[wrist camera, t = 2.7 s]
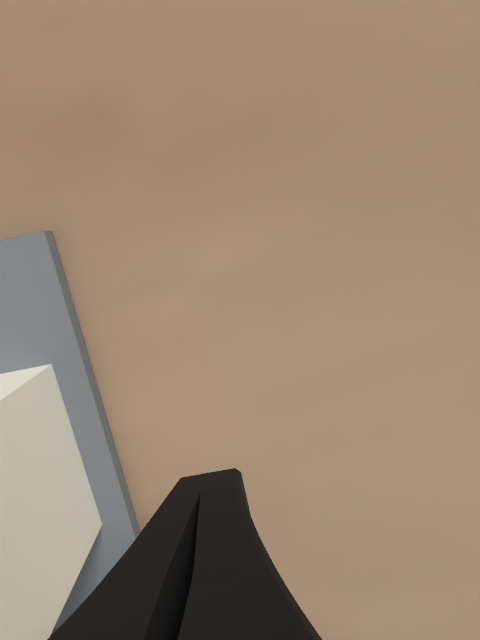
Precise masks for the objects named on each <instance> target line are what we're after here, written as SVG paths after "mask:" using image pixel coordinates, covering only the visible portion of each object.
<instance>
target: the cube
mask: <svg viewBox="0 0 480 640" xmlns="http://www.w3.org/2000/svg"><path fill="white" fill-rule="evenodd" d="M101 526H102V522H101V519H100V516H99V513H98V510H97V506H96V503H95V500H94V497H93V494H92V491H91V487H90V484H89V481H88V478H87V475H86V472H85V468H84V465H83V462H82V459H81V456H80V453H79V449H78V446H77V443H76V440H75V437H74V433H73V430H72V427H71V424H70V421H69V418H68V414H67V411H66V408H65V405H64V402H63V399H62V395H61V392H60V389H59V386H58V383H57V380H56V376H55V373H54V370H53V367H52V364H49V365H44V366H39V367H34V368H29V369H23V370H18V371H13V372H8V373H3V374H0V640H47V639H48V638H49V637H50V635H51V633H52V631H53V629H54V626H55V624H56V622H57V620H58V618H59V616H60V614H61V611H62V609H63V607H64V605H65V603H66V601H67V599H68V597H69V594H70V592H71V590H72V588H73V586H74V584H75V582H76V580H77V577H78V575H79V573H80V571H81V569H82V567H83V565H84V562H85V560H86V558H87V556H88V554H89V552H90V550H91V548H92V545H93V543H94V541H95V539H96V537H97V535H98V533H99V531H100V528H101Z"/></svg>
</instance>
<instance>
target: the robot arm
mask: <svg viewBox="0 0 480 640" xmlns="http://www.w3.org/2000/svg"><path fill="white" fill-rule="evenodd" d="M47 640H322V639H321V637H320V636H319V635H318V633H317V632H316V630H315V629H314V627H313V626H312V625H311V623H310V622H309V620H308V619H307V617H306V616H305V614H304V613H303V611H302V610H301V608H300V607H299V605H298V604H297V602H296V601H295V599H294V598H293V596H292V594H291V593H290V591H289V590H288V588H287V586H286V585H285V583H284V581H283V580H282V578H281V576H280V575H279V573H278V571H277V569H276V568H275V566H274V564H273V562H272V560H271V558H270V557H269V555H268V553H267V551H266V549H265V547H264V545H263V543H262V541H261V539H260V537H259V535H258V532H257V530H256V528H255V526H254V523H253V521H252V519H251V515H250V511H249V506H248V502H247V497H246V493H245V488H244V484H243V479H242V475H241V472H240V471H238V470H237V469H235V468H234V469H228V470H222V471H217V472H211V473H205V474H200V475H194V476H188V477H183V478H181V479H180V480H179V481H178V482H177V484H176V485H175V486H174V488H173V489H172V491H171V492H170V493H169V495H168V496H167V497H166V499H165V500H164V502H163V503H162V504H161V506H160V507H159V508H158V510H157V511H156V513H155V514H154V515H153V517H152V518H151V519H150V521H149V522H148V523H147V525H146V526H145V527H144V529H143V530H142V531H141V533H140V534H139V535H138V537H137V538H136V539H135V541H134V542H133V543H132V545H131V546H130V547H129V548H128V550H127V551H126V552H125V553H124V554H123V556H122V557H121V558H120V559H119V560H118V562H117V563H116V564H115V565H114V567H113V568H112V569H111V570H110V571H109V573H108V574H107V575H106V576H105V577H104V579H103V580H102V581H101V582H100V583H99V585H98V586H97V587H96V588H95V589H94V590H93V592H92V593H91V594H90V595H89V596H88V597H87V598H86V599H85V601H84V602H83V603H82V604H81V605H80V606H79V607H78V608H77V609H76V610H75V611H74V612H73V614H72V615H71V616H70V617H69V618H68V619H67V620H66V621H65V622H64V623H63V624H62V625H61V626H60V627H59V628H58V629H57V630H56V631H55V632H54V633H53V634H52V635H51V636H50V637H49V638H48V639H47Z"/></svg>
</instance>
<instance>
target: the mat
mask: <svg viewBox="0 0 480 640" xmlns="http://www.w3.org/2000/svg"><path fill="white" fill-rule="evenodd" d="M49 364H52V367H53V370H54V373H55V376H56V380H57V383H58V386H59V389H60V392H61V395H62V399H63V402H64V405H65V408H66V411H67V414H68V418H69V421H70V424H71V427H72V430H73V433H74V437H75V440H76V443H77V446H78V449H79V453H80V456H81V459H82V462H83V465H84V468H85V472H86V475H87V478H88V481H89V484H90V487H91V491H92V494H93V497H94V500H95V503H96V506H97V510H98V513H99V516H100V519H101V522H102V526H101V528H100V531H99V533H98V535H97V537H96V539H95V541H94V543H93V545H92V548H91V550H90V552H89V554H88V556H87V558H86V560H85V562H84V565H83V567H82V569H81V571H80V573H79V575H78V577H77V580H76V582H75V584H74V586H73V588H72V590H71V592H70V594H69V597H68V599H67V601H66V603H65V605H64V607H63V609H62V611H61V614H60V616H59V618H58V620H57V622H56V624H55V626H54V629H57V628H59V627H60V626H61V625H62V624H63V623H64V622H65V621H66V620H67V619H68V618H69V617H70V616H71V615H72V614H73V612H74V611H75V610H76V609H77V608H78V607H79V606H80V605H81V604H82V603H83V602H84V601H85V599H86V598H87V597H88V596H89V595H90V594H91V593H92V592H93V590H94V589H95V588H96V587H97V586H98V585H99V583H100V582H101V581H102V580H103V579H104V577H105V576H106V575H107V574H108V573H109V571H110V570H111V569H112V568H113V567H114V565H115V564H116V563H117V562H118V560H119V559H120V558H121V557H122V556H123V554H124V553H125V552H126V551H127V550H128V548H129V547H130V546H131V545H132V543H133V542H134V541H135V539H136V538H137V537H138V535H139V534H140V530H139V526H138V523H137V520H136V516H135V513H134V509H133V506H132V503H131V499H130V496H129V492H128V489H127V485H126V482H125V479H124V475H123V472H122V468H121V465H120V462H119V458H118V455H117V451H116V448H115V445H114V441H113V438H112V434H111V431H110V427H109V424H108V421H107V417H106V414H105V410H104V407H103V404H102V400H101V397H100V393H99V390H98V386H97V383H96V380H95V376H94V373H93V369H92V366H91V363H90V359H89V356H88V352H87V349H86V346H85V342H84V339H83V335H82V332H81V328H80V325H79V322H78V318H77V315H76V311H75V308H74V305H73V301H72V298H71V294H70V291H69V287H68V284H67V281H66V277H65V274H64V270H63V267H62V264H61V260H60V257H59V253H58V250H57V247H56V243H55V240H54V236H53V233H52V231H43V232H38V233H33V234H28V235H23V236H19V237H14V238H9V239H4V240H0V374H3V373H8V372H13V371H18V370H23V369H29V368H34V367H39V366H44V365H49Z"/></svg>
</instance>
